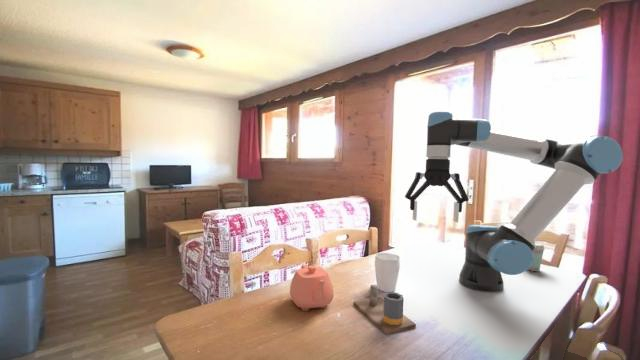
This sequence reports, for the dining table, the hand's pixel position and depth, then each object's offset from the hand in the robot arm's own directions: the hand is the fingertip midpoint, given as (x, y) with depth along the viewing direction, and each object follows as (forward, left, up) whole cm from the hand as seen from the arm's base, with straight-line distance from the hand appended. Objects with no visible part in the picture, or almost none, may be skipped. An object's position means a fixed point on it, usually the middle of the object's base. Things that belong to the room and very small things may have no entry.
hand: (434, 220), depth 102 cm
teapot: (+40, +13, -27) cm, 50 cm away
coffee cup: (-52, -37, -27) cm, 69 cm away
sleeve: (+15, +20, -26) cm, 36 cm away
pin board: (+18, +16, -27) cm, 36 cm away
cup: (+15, -4, -27) cm, 31 cm away
